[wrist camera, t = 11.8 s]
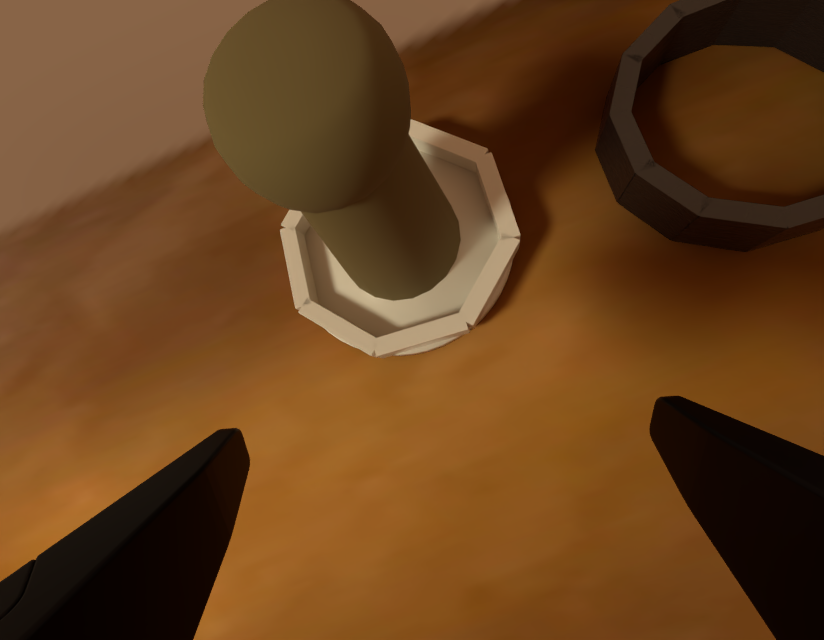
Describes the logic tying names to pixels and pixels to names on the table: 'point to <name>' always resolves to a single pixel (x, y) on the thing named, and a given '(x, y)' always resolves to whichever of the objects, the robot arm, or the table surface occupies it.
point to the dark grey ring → (660, 189)
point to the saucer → (451, 298)
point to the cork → (332, 139)
